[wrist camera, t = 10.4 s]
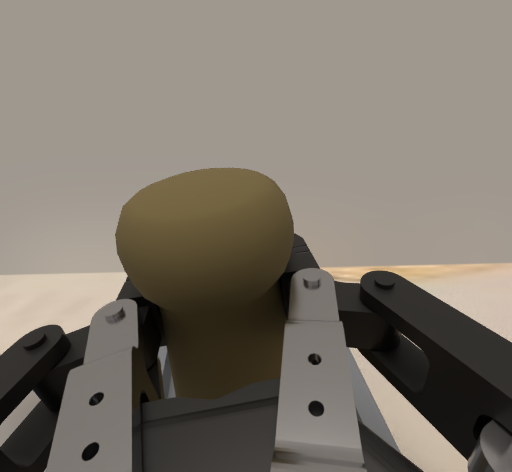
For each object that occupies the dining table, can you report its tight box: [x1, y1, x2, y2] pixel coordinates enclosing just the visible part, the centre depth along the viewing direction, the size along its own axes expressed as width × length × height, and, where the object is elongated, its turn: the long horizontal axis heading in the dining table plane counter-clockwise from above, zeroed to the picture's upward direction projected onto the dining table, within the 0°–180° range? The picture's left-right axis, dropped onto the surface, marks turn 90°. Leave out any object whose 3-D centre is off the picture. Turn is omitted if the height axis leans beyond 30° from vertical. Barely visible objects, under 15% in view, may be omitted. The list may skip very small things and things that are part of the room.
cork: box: [115, 168, 294, 400], centre depth 10 cm, size 6×6×11 cm
